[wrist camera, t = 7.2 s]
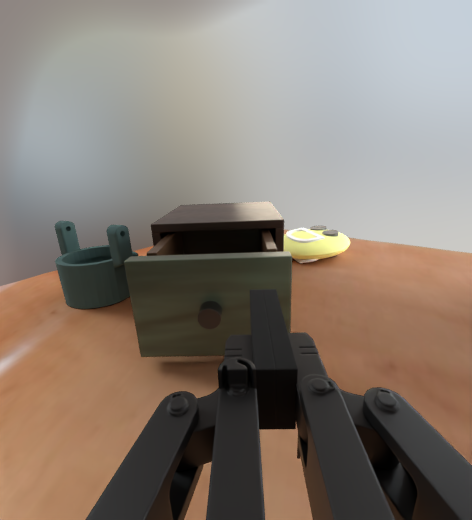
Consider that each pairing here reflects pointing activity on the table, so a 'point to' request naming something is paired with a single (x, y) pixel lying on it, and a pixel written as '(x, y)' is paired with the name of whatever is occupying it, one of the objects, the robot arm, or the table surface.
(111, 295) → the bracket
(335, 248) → the emoji
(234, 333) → the case drawer
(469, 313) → the table surface
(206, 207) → the case
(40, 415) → the table surface
